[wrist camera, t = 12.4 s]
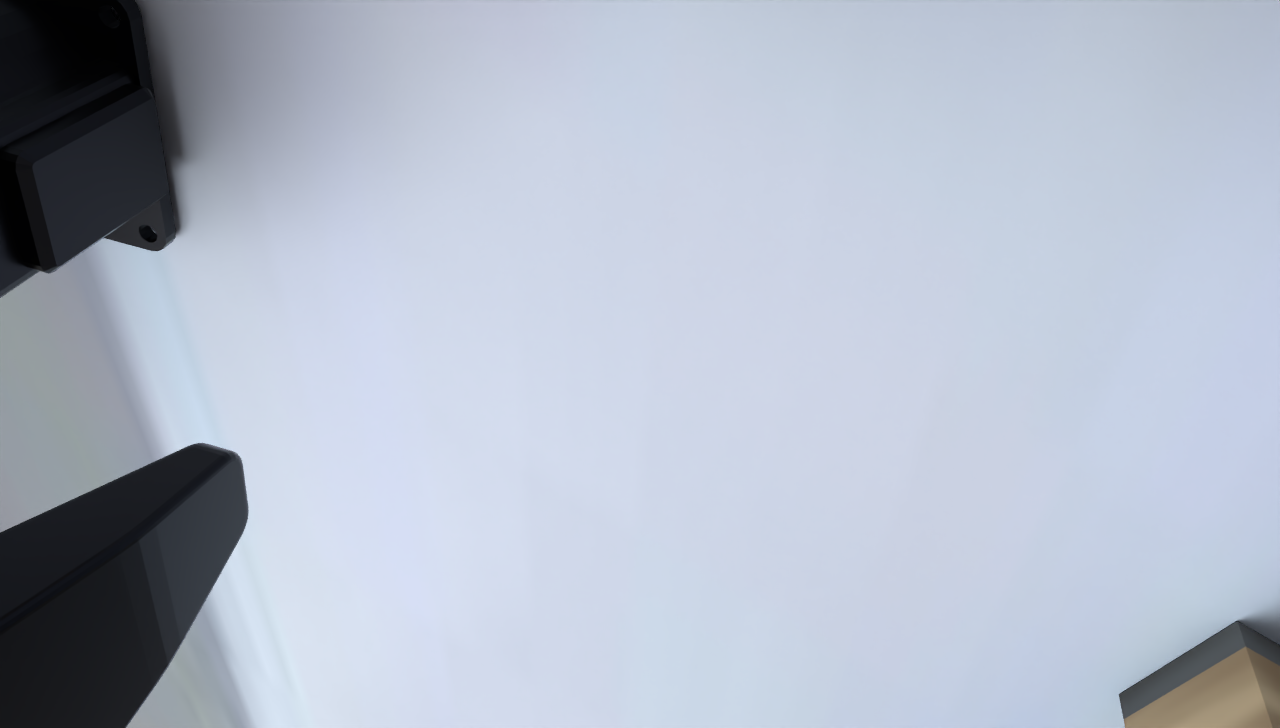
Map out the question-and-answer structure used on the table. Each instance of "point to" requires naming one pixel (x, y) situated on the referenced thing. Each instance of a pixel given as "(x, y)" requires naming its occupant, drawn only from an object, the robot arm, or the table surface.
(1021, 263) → the table surface
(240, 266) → the table surface
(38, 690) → the robot arm
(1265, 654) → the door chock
